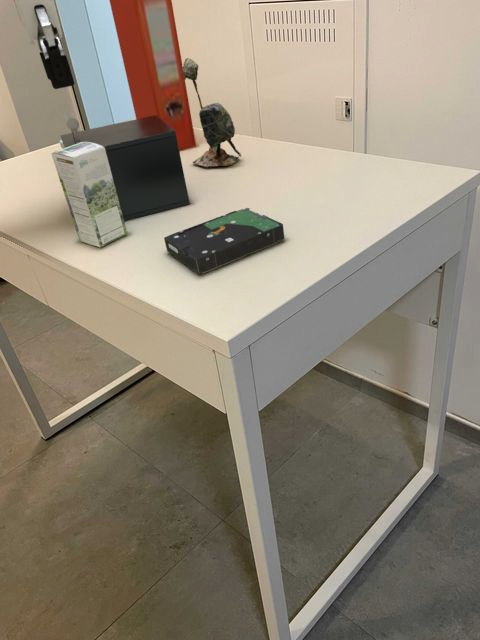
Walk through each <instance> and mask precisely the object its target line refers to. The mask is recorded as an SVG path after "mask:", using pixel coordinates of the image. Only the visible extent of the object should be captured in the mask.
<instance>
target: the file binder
mask: <svg viewBox="0 0 480 640" xmlns="http://www.w3.org/2000/svg"><path fill="white" fill-rule="evenodd" d="M108 1H109V5H110V8H111V13H112V18H113V22H114V27H115V31H116V35H117V40H118V44H119V49H120V53H121V57H122V63H123V66H124V72H125V76H126V80H127V84H128V89H129V93H130V98H131V102H132V107H133V111H134V116H135V119H140V118H145V117H149V116H154V115H157V116H158V117H159V118H160V119H162V120H163V121H164V122H165V123H166V124H168V125H169V126H170V127H171V128H173V129H174V130H175V132H176V137H177V142H178V147H179V152H180V151H183V150H184V151H185V150H188V149H192V148H196V145H197V143H196V136H195V131H194V125H193V119H192V113H191V107H190V102H189V95H188V90H187V84H186V80H185V81H183V79H184V74H183V73H182V68H183V66H184V64H183V61H182V55H181V48H180V44H179V36H178V31H177V25H176V19H175V13H174V6H173V1H172V0H108Z"/></svg>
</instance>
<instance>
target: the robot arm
mask: <svg viewBox="0 0 480 640" xmlns="http://www.w3.org/2000/svg"><path fill="white" fill-rule="evenodd" d="M13 2H14V5H15V8H16V11H17V13H18V14H17V15H18V16H19V19H20V23H21V27H22V28H23V31H24V35H25V37H26V40H27V42H28V43H29V44H30V45H33V46H34V45H35V41H34V40H36V42H37V45H38V46H37V47H38V49H39V51H40V52H39V56H40V59H41V62H42V66H43V68H44V71H45V72H44V73H45V75H46V77H47V79H48V80H49V81H50V83H51V86H52V88H53V89H54V90H58V89H63V88H68V87H73V86H74V85H75V81H74V77H73V74H72V70H71V66H70V64H69V60H68V57H67V54H65V51H64V49H63V46H62V43H61V39H62V37H63V32H62V27H61V23H60V18H59V15H58V10H57V7H56V2H55V0H13Z"/></svg>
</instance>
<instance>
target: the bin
mask: <svg viewBox="0 0 480 640" xmlns="http://www.w3.org/2000/svg"><path fill="white" fill-rule="evenodd" d="M106 155H107V158H108V162H109V166H110V170H111V174H112V177H113V181H114V185H115V189H116V193H117V196H118V200H119V204H120V208H121V211H122V215H123V219H124V222H127V221H130V220H131V221H132V220H134V219H138V218H142V217H147V216H149V215H155V214H157V213H161V212H165V211H170V210H172V209H177V208H180V207H184V206H189V205H191V202H190V197H189V193H188V188H187V182H186V177H185V173H184V168H183V163H182V157H181V153H180V151H179V147H178V142H177V137H176V136H171V137H167V138H162V139H158V140H153V141H149V142H144V143H140V144H135V145H131V146H126V147H122V148H118V149H113V150H109V151H106Z"/></svg>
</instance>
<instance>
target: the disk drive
mask: <svg viewBox="0 0 480 640" xmlns="http://www.w3.org/2000/svg"><path fill="white" fill-rule="evenodd" d="M163 239H164V240H163V241H164V243H165V248H166V251H167V253H169V254H170V255H171V256H173V257H174V258H175V259H177V260H178V261H180V262H181V263H183V264H184V265H185V266H187V267H188V268H190V269H191V270H192V271H194V272H196V273H197V274H199V275H201V274H204V273H207V272H210V271H212V270H215V269H218V268H220V267H222V266H224V265H225V266H226V265H227V264H229V263H231V262H234V261H237V260H239V259H242V258H243V257H245V256H248V255H251V254H253V253H256V252H258V251H261V250H263V249H265V248H268V247H271V246H273V245H276V244H278V243H280V242H281V241H283V240H285V229H284V223H281V222H279V221H278V220H275V219H273V218H271V217H269V216H268V215H265V214H263V215H262V214H260V213H258V212H256V211H253V210H251V209H250V207H246V208H241V209H239V210H233V211H230V212H228V213H226V214H224V215H220V216H217V217H215V218H212V219H210V220H206V221H204V222H202V223H198V224H196V225H194V226H191V227H190V226H189V227H188V228H185V229H183V230H179V231H177V232H174V233H171V234H169V235H167V236H164V237H163Z"/></svg>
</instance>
